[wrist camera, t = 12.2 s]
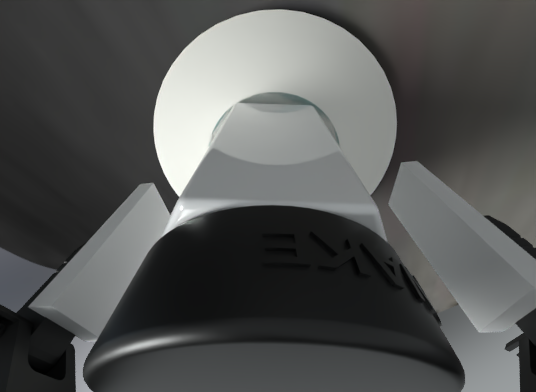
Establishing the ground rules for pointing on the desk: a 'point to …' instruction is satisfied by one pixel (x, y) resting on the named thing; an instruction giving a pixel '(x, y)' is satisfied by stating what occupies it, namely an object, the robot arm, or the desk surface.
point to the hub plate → (275, 89)
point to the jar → (273, 279)
